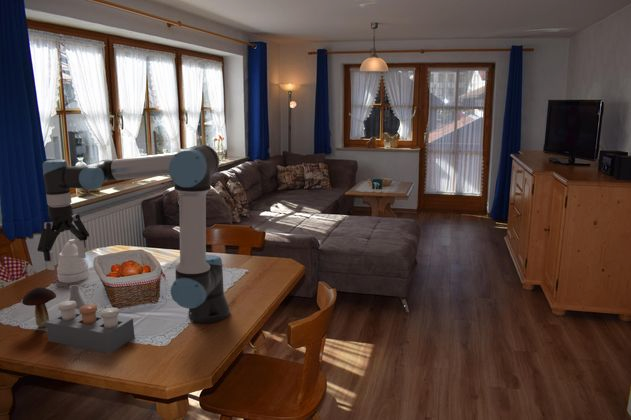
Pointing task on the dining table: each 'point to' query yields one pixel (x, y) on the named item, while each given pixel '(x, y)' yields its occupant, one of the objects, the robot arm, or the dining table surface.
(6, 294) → the dining table surface
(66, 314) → the far knob
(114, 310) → the near knob
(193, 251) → the robot arm
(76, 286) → the flask
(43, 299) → the decorative mushroom
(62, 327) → the grey rectangular block
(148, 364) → the dining table surface
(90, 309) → the middle knob
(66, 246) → the honey pot
